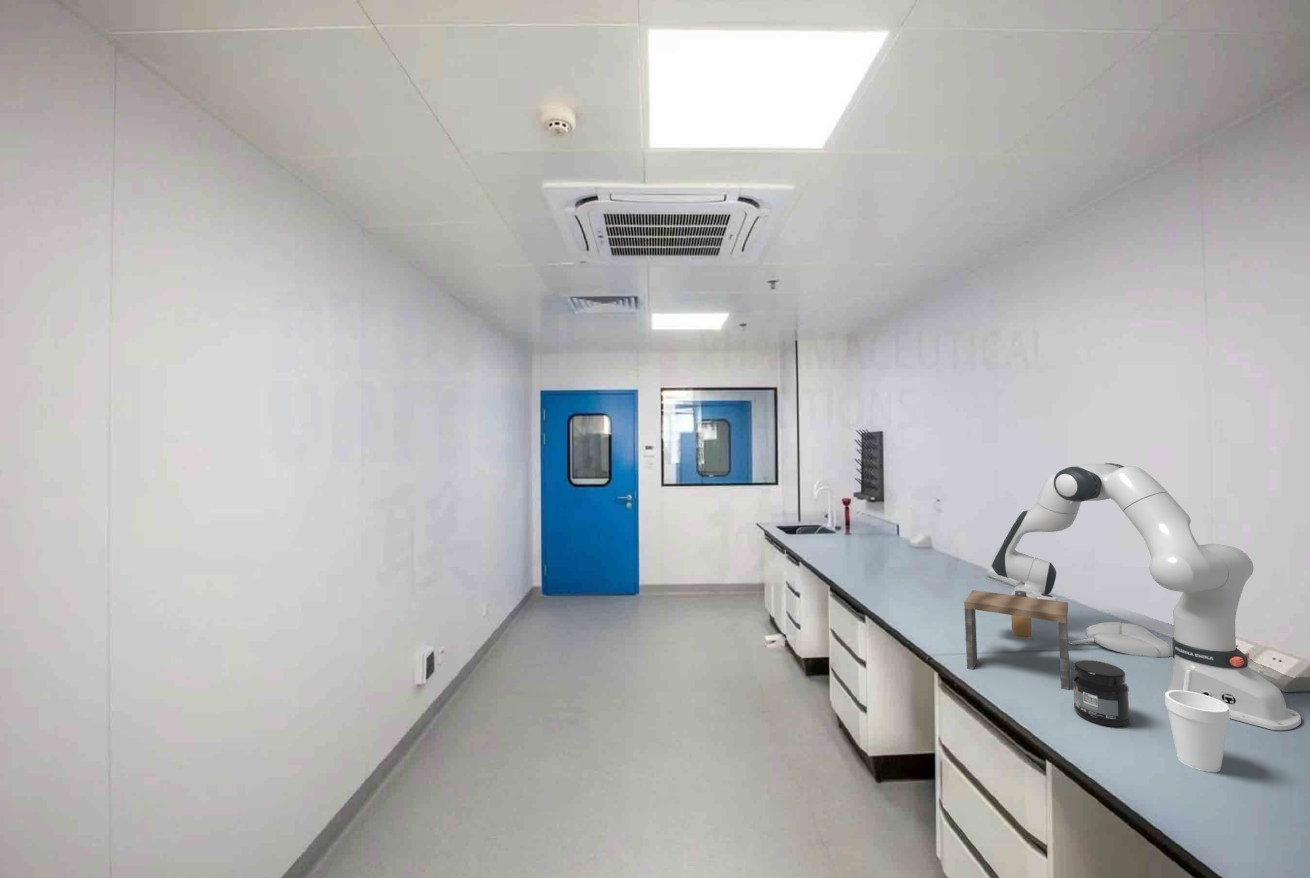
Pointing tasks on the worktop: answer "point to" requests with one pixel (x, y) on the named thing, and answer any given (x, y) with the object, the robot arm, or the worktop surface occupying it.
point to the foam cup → (1198, 728)
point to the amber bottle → (1021, 622)
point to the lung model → (1126, 639)
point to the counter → (1017, 608)
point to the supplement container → (1101, 693)
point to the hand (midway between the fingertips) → (1020, 613)
